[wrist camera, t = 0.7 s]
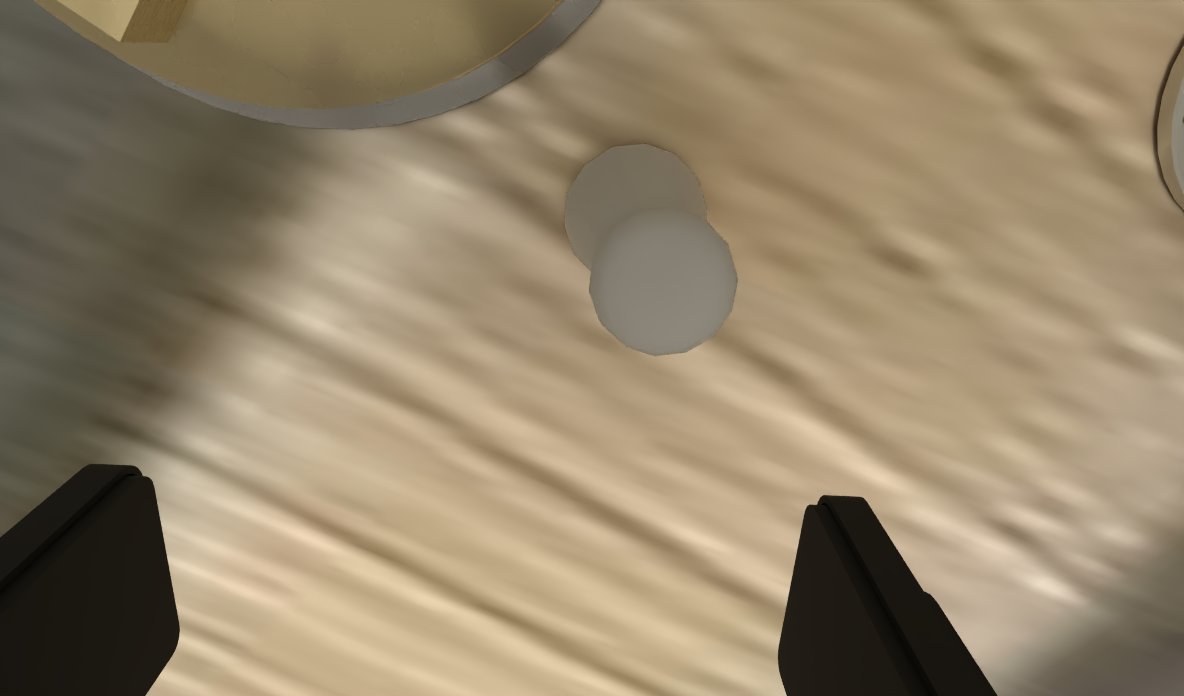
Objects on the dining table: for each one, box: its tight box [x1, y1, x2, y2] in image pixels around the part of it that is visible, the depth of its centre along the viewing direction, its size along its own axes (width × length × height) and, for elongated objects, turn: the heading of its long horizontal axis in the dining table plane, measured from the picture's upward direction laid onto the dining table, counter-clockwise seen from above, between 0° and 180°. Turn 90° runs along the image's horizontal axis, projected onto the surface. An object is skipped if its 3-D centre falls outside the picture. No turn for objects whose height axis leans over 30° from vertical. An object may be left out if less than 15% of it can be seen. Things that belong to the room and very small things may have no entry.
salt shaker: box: [564, 144, 738, 356], centre depth 27 cm, size 6×6×13 cm
